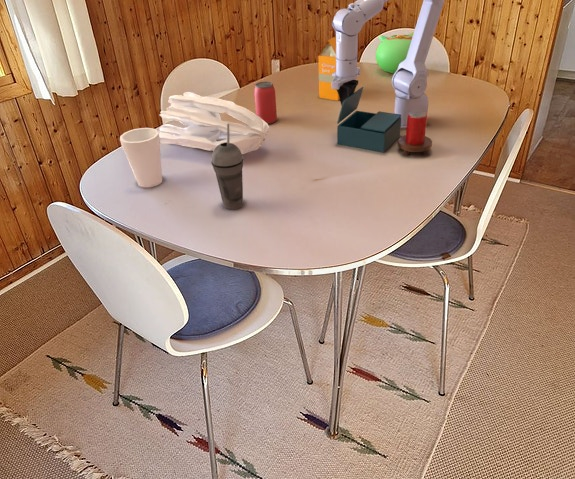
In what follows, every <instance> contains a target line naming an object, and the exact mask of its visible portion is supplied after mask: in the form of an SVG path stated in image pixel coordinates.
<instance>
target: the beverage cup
mask: <svg viewBox="0 0 575 479" xmlns="http://www.w3.org/2000/svg"><path fill="white" fill-rule="evenodd" d="M210 162H211V166H212V168H213V170H214V173H215V176H216V180H217V184H218V188H219V193H220V198H221V201H222V204H223V207H224V208H225V209H226V210H231V211H232V210H237V209H240V208H242V207H243V204H244V202H243V200H244V187H243V185H244V184H243V183H244V182H243V168H244V157H243V154H241V151H240V149H239V148H238V147H237V146H236V145H234V144H232V143H229V124H227V142H225V143H221V144H219V145H218V146H217V147H216V148H215V149H214V151H213V150H212V153H211V161H210Z"/></svg>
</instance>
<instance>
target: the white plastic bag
mask: <svg viewBox="0 0 575 479" xmlns="http://www.w3.org/2000/svg"><path fill="white" fill-rule="evenodd" d="M167 99H168V100H167V103H169V104H170V105H169V106H168V107H166V108H165V109H166V110H161V111H160V112H159V113H160V114H159V117H161V118H162V119H164V120H167V121H172V122H175V121H177V122H179V123H180V124H181V125H183V126H186V127H181V126H177V125H174V124H169V123H168V124H162V125H160V127H159V129H158V133H159V138H160V145H161V144H162V145H172V144H173V145H177V146H182V147H189V148H193V149H201V150H205V151H210V152H211V151H212V152H213V151H214V149H215V148H216V147H217V146H218V145H219V144H221V143H225V142H227V124H229V143H232V144H234V145H236V146H237V147H238V148H239V149H240V151H241V154H242V155H245V154H247V153H250V152H255V151H257V150H258V149H259V148H260V146H262V145H263V143H264V141H265V136H266V135H268V133H269V131H270V126H269V124H267V123H266V122H265V121H264V120H262V119H261V118H260V117H259V116H257V115H256V112H255V113H254V112H253V111H251V110H250V109H248V108H246V107H244V106H242V105H238V104H236V103H235V102H234V101H232V100H225V99H222V98H219V97H214V96H207V95H205V96H202V95H199V93H198V94H197V93H195V92H193V91H185V92H183V94H173V95H170V96H169V97H167ZM221 114H227V115H228V116H230V117H232V118H233V119H235V120H238V121H240V122H241V123H238V122H234V121H229V120H228V121H227V120H225V121H224V120H223V119H222V117H221ZM242 123H244V124H242Z"/></svg>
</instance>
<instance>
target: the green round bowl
mask: <svg viewBox="0 0 575 479" xmlns="http://www.w3.org/2000/svg"><path fill="white" fill-rule="evenodd" d="M413 34H414V31H413V32H411V33H409V34H395V35H392V36H391V35H390V36H389V37H388V36H386V35H378V40H379V41H380V43H379V44H378V46H377V47H376V51H375V61H376V64H377V66H378V67H379V68H380V69H381V70H382V71H384V72H386V73H390V74H394V73H395V72H396V71H397V69H398V66H399V64H400V63H401V62H403V61H404V60H405V59H406V57H407V54H408V50H409V47H410V44H411V41H412V37H413Z"/></svg>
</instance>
